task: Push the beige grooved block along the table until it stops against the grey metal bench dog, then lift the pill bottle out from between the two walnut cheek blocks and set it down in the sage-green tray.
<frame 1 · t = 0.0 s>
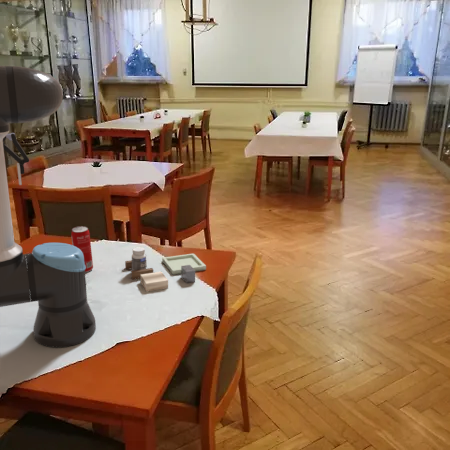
beverage can: (83, 270, 153), on the table
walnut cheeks: (139, 272, 153), on the table
bench dog: (188, 279, 149), on the table
beige grooved block: (154, 285, 145), on the table
pill bottle: (139, 272, 153), on the table
tray: (183, 265, 160), on the table
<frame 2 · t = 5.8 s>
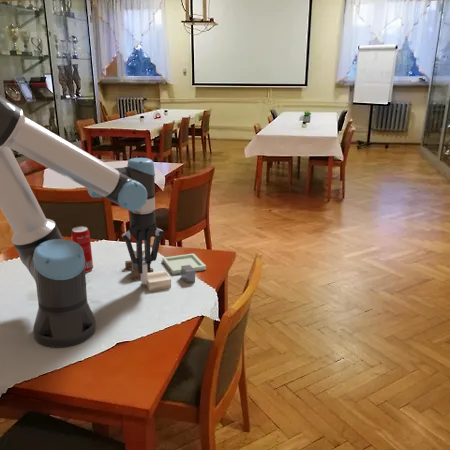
hand: (144, 281, 143), 2 cm above the table, fingers closed
beige grooved block: (157, 284, 145), on the table
everything else where it was.
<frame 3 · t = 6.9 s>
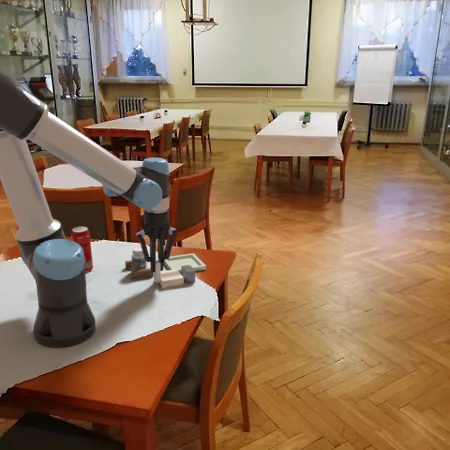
hand: (157, 280, 145), 1 cm above the table, fingers closed
beige grooved block: (169, 283, 147), on the table
everything else where it was.
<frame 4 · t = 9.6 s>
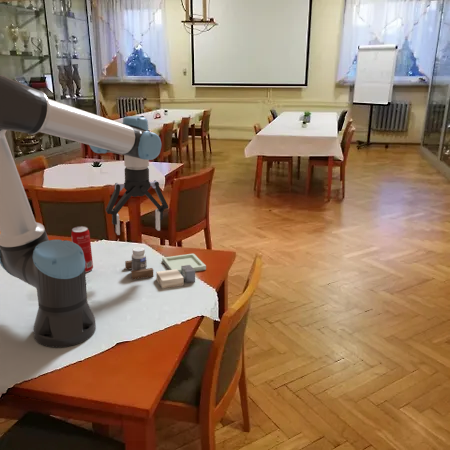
hand: (138, 231, 149), 15 cm above the table, fingers open, 13 cm apart
nothing on the table moved.
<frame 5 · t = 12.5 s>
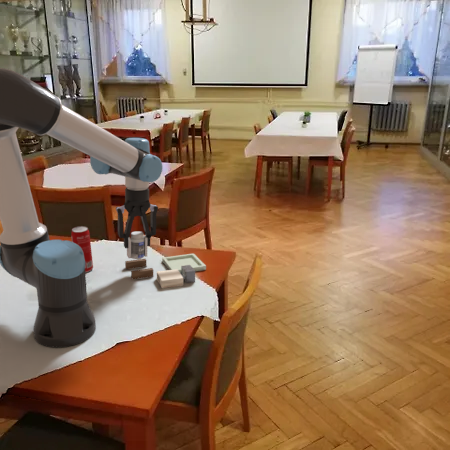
hand: (137, 255, 151), 6 cm above the table, fingers closed on pill bottle, 5 cm apart
pill bottle: (137, 257, 151), point 6 cm above the table, touching gripper
everything else where it was.
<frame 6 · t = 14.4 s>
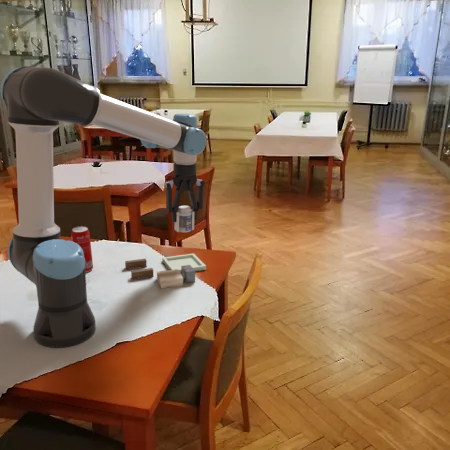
hand: (184, 229, 156), 13 cm above the table, fingers closed on pill bottle, 5 cm apart
pill bottle: (184, 230, 156), point 13 cm above the table, touching gripper
everything else where it was.
when the fingers open (2 cm above the table, at t = 16.6 s): pill bottle stays where it is, resting on tray.
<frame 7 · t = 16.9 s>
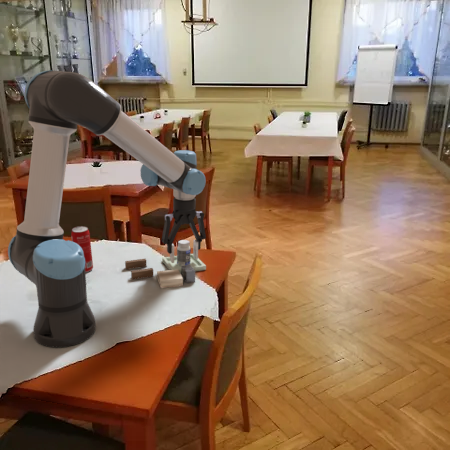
hand: (183, 259, 159), 2 cm above the table, fingers open, 8 cm apart
pill bottle: (183, 264, 160), resting on tray
everything else where it was.
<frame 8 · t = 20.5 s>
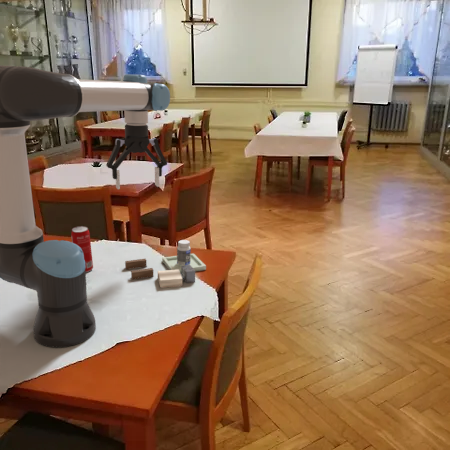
hand: (137, 187, 155), 27 cm above the table, fingers open, 13 cm apart
nothing on the table moved.
at the end: beige grooved block 1.2 cm from the target spot, on the table; pill bottle inside the target area on the tray (0.0 cm from its centre), point 0.4 cm above the tray's base; pill bottle tilted 0° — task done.
